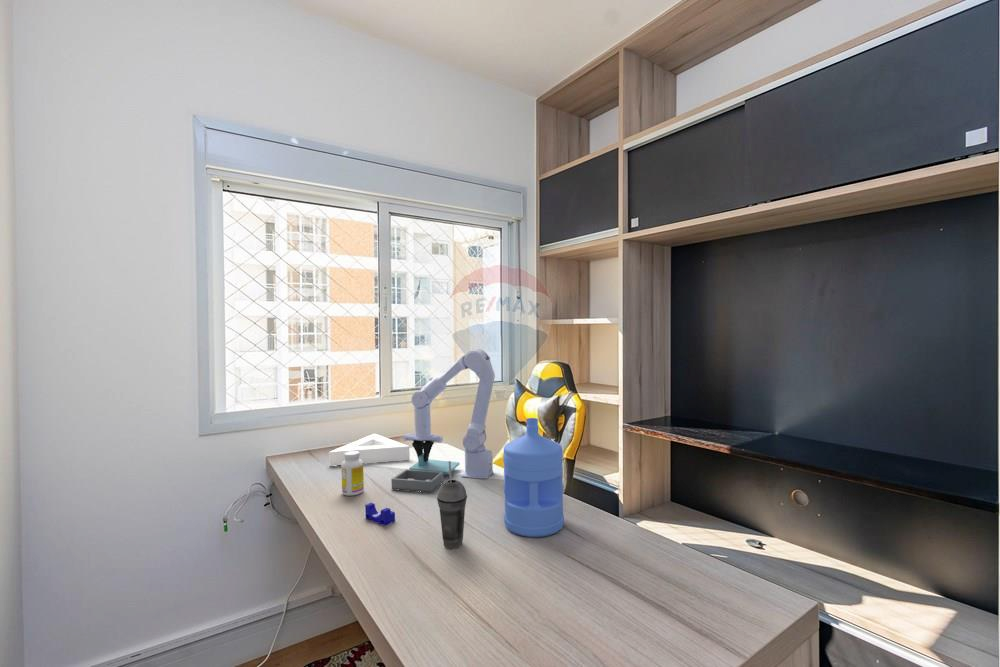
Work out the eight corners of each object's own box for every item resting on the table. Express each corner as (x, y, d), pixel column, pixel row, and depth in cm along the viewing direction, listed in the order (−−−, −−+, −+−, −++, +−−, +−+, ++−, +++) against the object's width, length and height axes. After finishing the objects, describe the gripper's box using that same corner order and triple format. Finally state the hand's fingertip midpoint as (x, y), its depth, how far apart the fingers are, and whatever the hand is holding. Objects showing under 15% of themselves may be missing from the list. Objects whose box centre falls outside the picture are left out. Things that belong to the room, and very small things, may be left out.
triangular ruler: (329, 468, 174) (329, 451, 174) (339, 450, 199) (338, 435, 199) (409, 462, 180) (409, 446, 180) (409, 445, 205) (408, 431, 205)
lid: (459, 467, 168) (459, 453, 168) (448, 477, 158) (448, 461, 157) (422, 463, 172) (422, 449, 172) (409, 472, 162) (409, 458, 161)
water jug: (505, 512, 129) (503, 413, 128) (561, 512, 128) (560, 413, 127) (502, 538, 113) (500, 426, 113) (566, 539, 112) (564, 425, 112)
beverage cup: (444, 554, 106) (442, 469, 105) (433, 541, 112) (431, 460, 112) (473, 547, 109) (471, 464, 109) (461, 534, 116) (459, 456, 115)
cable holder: (395, 521, 125) (394, 506, 125) (385, 526, 122) (384, 511, 122) (375, 514, 129) (375, 500, 129) (365, 519, 126) (365, 504, 126)
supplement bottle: (367, 489, 149) (366, 450, 149) (358, 496, 143) (357, 455, 143) (347, 488, 150) (346, 449, 150) (338, 496, 143) (337, 455, 143)
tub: (443, 482, 154) (443, 472, 154) (431, 493, 145) (431, 482, 145) (405, 479, 158) (405, 469, 158) (391, 489, 148) (391, 479, 148)
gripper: (399, 425, 164) (400, 463, 164) (436, 427, 160) (437, 465, 160) (408, 421, 170) (409, 457, 171) (444, 422, 167) (445, 459, 167)
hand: (423, 461), depth 166 cm, fingers closed on lid
